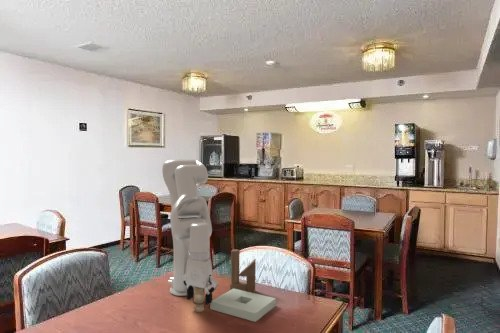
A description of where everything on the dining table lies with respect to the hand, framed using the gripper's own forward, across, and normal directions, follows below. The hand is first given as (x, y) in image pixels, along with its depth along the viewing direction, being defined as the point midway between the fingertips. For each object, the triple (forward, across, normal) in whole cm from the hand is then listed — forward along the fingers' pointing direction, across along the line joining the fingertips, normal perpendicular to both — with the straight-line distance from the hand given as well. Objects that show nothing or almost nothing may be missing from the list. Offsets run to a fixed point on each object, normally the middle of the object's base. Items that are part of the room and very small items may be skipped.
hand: (199, 300), depth 132 cm
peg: (+4, 0, 0) cm, 4 cm away
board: (+4, +13, +11) cm, 17 cm away
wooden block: (+4, +4, +25) cm, 26 cm away
